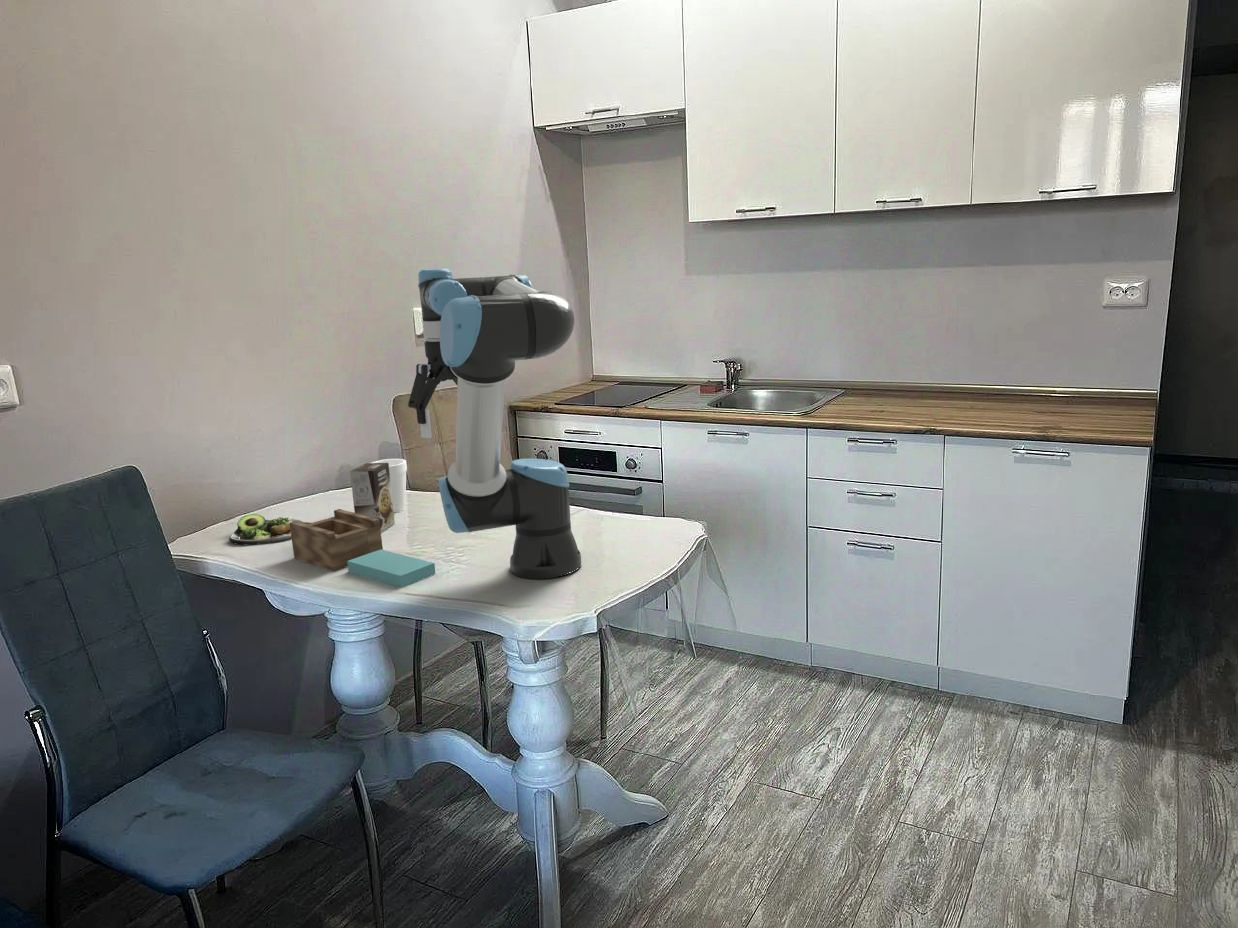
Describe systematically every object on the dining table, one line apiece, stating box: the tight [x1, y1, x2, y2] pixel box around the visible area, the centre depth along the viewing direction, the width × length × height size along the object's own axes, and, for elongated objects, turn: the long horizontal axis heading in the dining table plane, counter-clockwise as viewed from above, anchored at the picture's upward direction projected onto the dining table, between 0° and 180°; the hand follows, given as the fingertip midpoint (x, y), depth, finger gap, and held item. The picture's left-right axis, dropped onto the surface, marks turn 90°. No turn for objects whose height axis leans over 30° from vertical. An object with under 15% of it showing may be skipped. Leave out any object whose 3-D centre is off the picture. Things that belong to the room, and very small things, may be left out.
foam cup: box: [371, 458, 408, 514], centre depth 248 cm, size 10×9×13 cm
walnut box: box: [290, 508, 384, 572], centre depth 212 cm, size 16×13×8 cm
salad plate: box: [229, 513, 311, 545], centre depth 233 cm, size 19×18×5 cm
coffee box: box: [349, 462, 396, 534], centre depth 231 cm, size 9×6×16 cm
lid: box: [347, 549, 436, 588], centre depth 200 cm, size 18×9×3 cm, turn 52°
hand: (449, 432), depth 213 cm, fingers open, 13 cm apart
